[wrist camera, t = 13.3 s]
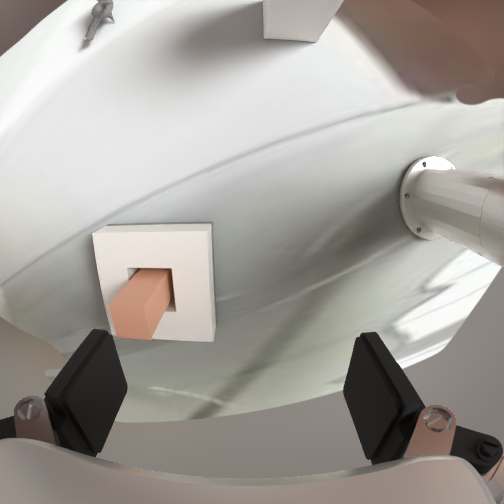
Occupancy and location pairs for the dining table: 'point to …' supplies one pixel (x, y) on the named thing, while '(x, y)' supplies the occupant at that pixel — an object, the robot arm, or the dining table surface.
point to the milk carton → (297, 18)
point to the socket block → (163, 256)
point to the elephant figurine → (99, 16)
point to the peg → (142, 303)
